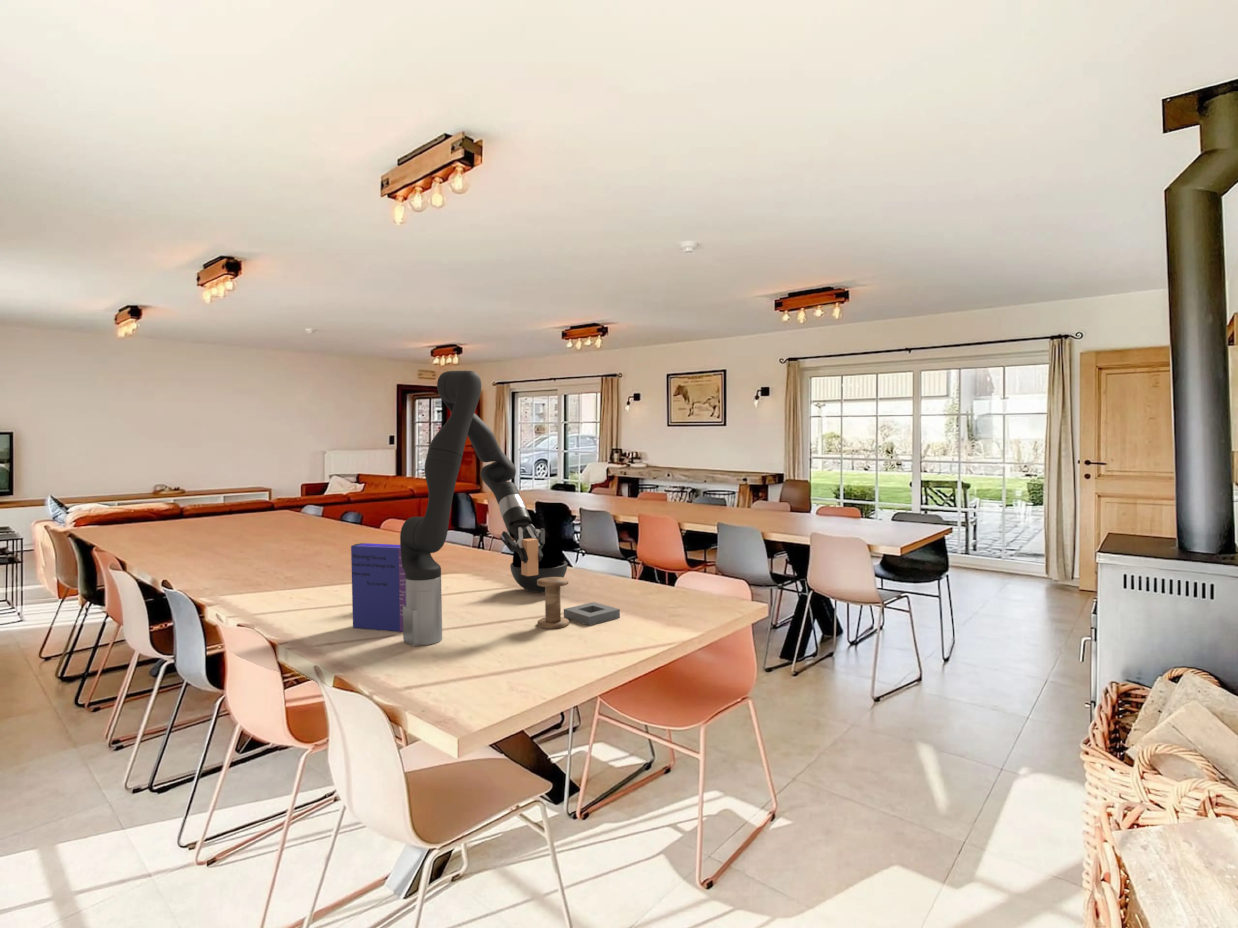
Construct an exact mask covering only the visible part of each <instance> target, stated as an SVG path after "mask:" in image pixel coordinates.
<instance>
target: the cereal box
mask: <svg viewBox="0 0 1238 928" xmlns="http://www.w3.org/2000/svg"><path fill="white" fill-rule="evenodd" d="M350 551H351V552H350V556H351V557H350V560H351V596H352V598H351V601H352V605H351V606H352V607H351V608H352V629H357V630H358V629H359V630H369V631H370V630H371V631H382V632H391V633H392V632H394V633H403V606H406V586H405V571H404V569H403V567H402V561H401V547H400V544H388V543H370V542H369V543H367V542H365V543H364V542H361V543H360V542H359V543H356V544H353V545H351V546H350Z"/></svg>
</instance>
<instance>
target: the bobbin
mask: <svg viewBox="0 0 1238 928" xmlns="http://www.w3.org/2000/svg"><path fill="white" fill-rule="evenodd" d="M537 585H538V586H542V587H545V592H544V603H545V604H544V605H545V606H544V607H545V608H544V609H545V610H544V611H545V612H544V614H545V615H544V617H543V618H540V619H538V620H537V627H538V628H539V629H543V630H544V629H546V630H557V629H563V628H566V627H568V626H569V625H570V624H569V620H570V619H568V618H565V617H564V616H563V617H561V616H562V615H561V614H562V613H561V608H562V607H561V606H562V605H561V587H564V586H568V585H569V579H568V578H566V577H564V578H563V577H545V578H541V579H538V580H537Z"/></svg>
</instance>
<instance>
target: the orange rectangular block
mask: <svg viewBox="0 0 1238 928" xmlns="http://www.w3.org/2000/svg"><path fill="white" fill-rule="evenodd" d="M522 543H523V548H525V551H526V553H527V556H528V561H527V563H524V562H523V561H521V574H522V575H525V576H534V575H538V538H537V539H533V538H529V539H523V540H522Z"/></svg>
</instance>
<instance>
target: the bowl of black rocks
mask: <svg viewBox="0 0 1238 928" xmlns="http://www.w3.org/2000/svg"><path fill="white" fill-rule="evenodd" d="M561 550H562V547H561V545H560V544H559V543H556V542H554V541H552V540H551V539H550V538H549V537H545V544H544V545H543V547H542V549H541V551H542V554H543V557H542V559H541V561H538V575H534V576H525V575H522V574H521V559H520V556H519V554H518V553H517V552H516V551H514V552H512V553H513V554H512V555H513V556H512V562H511V563H510V567H509V569H510V573H511V574H512V577H513V579H514V581H515V582H516V583H517V584H518V585H519V587H521V588H523V589H524V590H526V591H528V592H533V593H545V587H542V586H538V585H537V580H538V579H541V578H545V577H563V578H565V575H566V573H567V570H568V562H567V561H566V560H565V556H564V554H563V553H562V551H561Z"/></svg>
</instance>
